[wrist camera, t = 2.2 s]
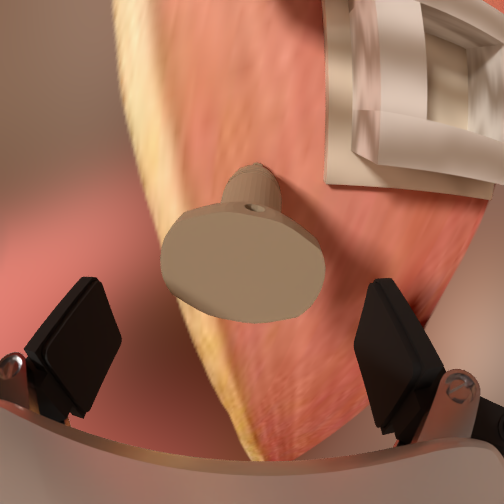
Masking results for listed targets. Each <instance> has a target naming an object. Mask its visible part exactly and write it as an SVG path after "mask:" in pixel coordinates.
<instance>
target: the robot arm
mask: <svg viewBox="0 0 504 504" xmlns="http://www.w3.org/2000/svg"><path fill="white" fill-rule="evenodd" d="M121 342H122V338H121V334H120V332H119V329H118V326H117V324H116V322H115V319H114V316H113V313H112V311H111V308H110V305H109V302H108V299H107V297H106V294H105V291H104V288H103V285H102V283H101V282H100V281H99V280H98V279H97V278H96V277H82V278H81V279H79V281H78V282H77V283H76V284H75V285H74V286H73V287H72V289H71V290H70V291H69V292H68V293H67V295H66V296H65V297H64V298H63V299H62V300H61V302H60V303H59V304H58V305H57V306H56V308H55V309H54V310H53V311H52V313H51V314H50V315H49V316H48V318H47V319H46V320H45V321H44V323H43V324H42V325H41V326H40V328H39V329H38V330H37V332H36V333H35V334H34V336H33V337H32V338H31V340H30V341H29V342H28V344H27V345H26V346H25V348H24V350H25V352H26V353H27V355H28V357H27V358H26V359H25V357H24V356H23V354H21V353H19V352H13V353H10V354H8V355H6V356H4V357H3V358H2V359H1V360H0V504H504V407H502V406H500V405H498V404H496V403H493V402H491V401H489V400H487V399H485V398H483V397H481V396H480V386H479V383H478V382H477V380H476V379H475V377H474V376H473V375H471V374H470V373H469V372H466V371H465V370H461V369H453V370H450V371H447V372H446V371H445V368H444V367H443V366H444V365H443V363H442V361H441V360H440V358H439V356H438V354H437V352H436V350H435V348H434V347H433V345H432V343H431V341H430V339H429V338H428V336H427V334H426V333H425V331H424V329H423V327H422V326H421V324H420V322H419V321H418V319H417V317H416V316H415V314H414V312H413V311H412V309H411V307H410V306H409V304H408V302H407V301H406V299H405V298H404V296H403V295H402V293H401V291H400V290H399V288H398V287H397V285H396V284H395V282H394V281H393V280H392V278H380V279H375V280H374V282H373V283H370V284H369V286H368V290H367V294H366V299H365V303H364V307H363V311H362V314H361V318H360V322H359V326H358V329H357V333H356V336H355V340H354V351H355V354H356V357H357V361H358V364H359V367H360V371H361V374H362V377H363V381H364V384H365V388H366V391H367V395H368V399H369V402H370V406H371V410H372V414H373V417H374V421H375V425H376V426H377V427H378V428H379V427H381V431H382V435H385V434H389V433H395V436H396V439H397V441H396V443H395V444H394V446H393V448H389V449H384V450H379V451H374V452H368V453H362V454H357V455H349V456H341V457H334V458H324V459H314V460H300V461H273V462H259V461H231V460H217V459H206V458H197V457H190V456H182V455H176V454H170V453H164V452H158V451H154V450H149V449H144V448H140V447H135V446H131V445H127V444H123V443H119V442H116V441H112V440H108V439H105V438H101V437H98V436H95V435H92V434H89V433H86V432H83V431H80V430H77V429H75V428H72V427H71V425H70V421H69V418H68V414H69V412H70V413H71V414H72V415H74V416H77V417H80V418H83V419H84V416H85V414H86V412H88V411H89V410H90V409H91V407H92V404H93V402H94V400H95V398H96V396H97V393H98V391H99V389H100V387H101V384H102V382H103V380H104V378H105V376H106V374H107V372H108V370H109V368H110V366H111V363H112V361H113V359H114V357H115V355H116V353H117V351H118V349H119V347H120V345H121Z"/></svg>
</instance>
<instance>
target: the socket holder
mask: <svg viewBox="0 0 504 504" xmlns="http://www.w3.org/2000/svg"><path fill="white" fill-rule="evenodd" d="M322 12H323V27H324V47H325V84H326V118H325V157H324V179H323V181H324V182H325V183H326V184H336V185H356V186H372V187H386V188H398V189H409V190H419V191H428V192H437V193H445V194H453V195H460V196H467V197H474V198H480V199H487V200H492V195H493V190H494V185H495V183H496V184H501V185H504V14H503V13H501V12H500V11H498V10H497V9H495V8H494V7H492V6H491V5H489V4H487V3H486V2H484V1H482V0H322Z"/></svg>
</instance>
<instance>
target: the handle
mask: <svg viewBox="0 0 504 504" xmlns="http://www.w3.org/2000/svg"><path fill="white" fill-rule="evenodd" d="M281 203H282V198H281V192H280V187H279V185H278V182H277V180H276V178H275V177H274V175H273V174H272V173H271V172H270V171H269V170H268V169H266V168H265V167H263V165H262V164H261V163H254V164H253V165H248V166H245V167H242V168H240V169H239V170H238V171H237V172H236V173H235V174H234V175H233V176H232V177H231V178H230V180H229V181H228V183H227V185H226V187H225V189H224V192H223V196H222V199H221V203H217V204H212V205H208V206H204V207H200V208H196V209H193V210H190V211H187V212H184V213H183V214H182V215H181V216H180V217H179V218H178V219H177V221H176V222H175V223H174V224H173V226H172V227H171V228H170V230H169V232H168V233H167V235H166V236H165V239H164V242H163V245H162V249H161V257H160V261H161V271H162V276H163V279H164V281H165V283H166V285H167V287H168V289H169V290H170V292H171V293H172V294H173V295H174V296H176V297H178V298H179V299H181V300H182V301H184V302H185V303H187V304H189V305H190V306H192V307H194V308H196V309H197V310H199V311H201V312H203V313H206V314H208V315H211V316H214V317H218V318H222V319H227V320H233V321H238V322H244V323H254V324H255V323H268V322H274V321H280V320H286V319H291V318H296V317H298V316H300V315H301V314H303V313H304V312H305V311H306V310H307V309H308V308H310V307H311V305H312V304H313V303H314V301H315V300H316V299H317V297H318V295H319V293H320V291H321V288H322V285H323V282H324V278H325V261H324V257H323V254H322V251H321V248H320V245H319V243H318V241H317V239H316V238H315V237H314V236H313V235H312V234H310V233H309V232H308V231H307V230H306V229H304V228H303V227H302V226H301V225H299V224H298V223H296V222H295V221H294V220H292V219H291V218H289V217H287V216H286V215H284V214H282V213H281Z"/></svg>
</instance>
